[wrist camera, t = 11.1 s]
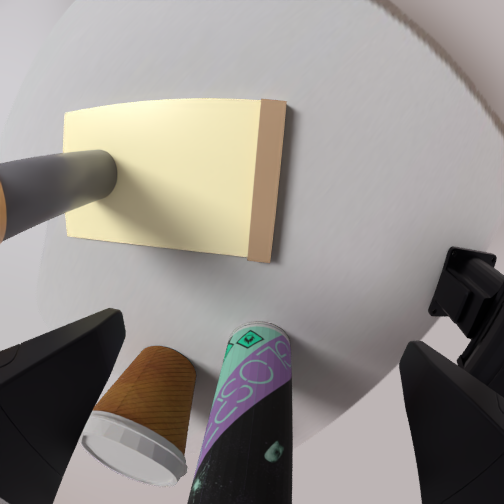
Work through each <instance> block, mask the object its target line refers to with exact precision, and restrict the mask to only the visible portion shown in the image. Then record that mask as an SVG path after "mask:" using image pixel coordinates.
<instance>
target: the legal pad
mask: <svg viewBox="0 0 504 504" xmlns="http://www.w3.org/2000/svg"><path fill="white" fill-rule="evenodd" d="M286 102H287V101H279V100H269V99H261V100H247V99H218V98H195V99H167V100H152V101H140V102H130V103H122V104H114V105H107V106H100V107H94V108H88V109H82V110H77V111H72V112H67V113H65V118H64V135H63V153H68V152H77V151H87V150H104V151H106V152H108V153H109V154H110V155H111V156H112V157H113V159H114V161H115V163H116V166H117V182H116V185H115V187H114V189H113V191H112V192H111V193H110V194H109V195H108V196H107V197H105V198H103V199H100V200H97V201H94V202H92V203H89V204H86V205H84V206H81V207H79V208H76V209H74V210H71V211H69V212H66V213H65V217H66V227H67V236H69V237H77V238H86V239H94V240H102V241H111V242H119V243H128V244H136V245H145V246H153V247H162V248H171V249H179V250H188V251H197V252H206V253H214V254H223V255H232V256H241V257H247V260H248V261H257V262H266V263H270V259H271V250H272V242H273V233H274V224H275V215H276V205H277V196H278V186H279V176H280V166H281V156H282V146H283V135H284V125H285V113H286Z"/></svg>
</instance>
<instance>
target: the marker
mask: <svg viewBox="0 0 504 504" xmlns="http://www.w3.org/2000/svg"><path fill="white" fill-rule="evenodd" d="M116 182H117V166H116V163H115V161H114V159H113V157H112V156H111V155H110V154H109V153H108V152H106V151H104V150H87V151H77V152H68V153H60V154H52V155H45V156H39V157H32V158H27V159H21V160H16V161H10V162H5V163H1V164H0V243H1V242H2V241H4V240H6V239H8V238H10V237H13V236H15V235H17V234H18V233H21V232H23V231H25V230H27V229H29V228H32V227H34V226H36V225H38V224H40V223H42V222H45V221H47V220H50V219H52V218H54V217H57V216H59V215H61V214H64V213H66V212H69V211H71V210H74V209H76V208H79V207H81V206H84V205H86V204H89V203H92V202H94V201H97V200H100V199H103V198H105V197H107V196H108V195H109V194H110V193H111V192H112V191H113V189H114V187H115V185H116Z"/></svg>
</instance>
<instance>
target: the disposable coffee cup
mask: <svg viewBox="0 0 504 504" xmlns="http://www.w3.org/2000/svg"><path fill="white" fill-rule="evenodd" d="M195 380H196V371H195V369H194V367H193V365H192V364H191V363H190V361H189V360H188V359H187V358H185V357H184V356H183V355H181V354H180V353H178V352H176V351H175V350H172V349H170V348H167V347H162V346H150V347H147V348H145V349H144V350H143V351H142V352H141V353H140V354H139V355H138V356H137V357H136V359H135V360H134V361H133V362H132V363H131V364H130V366H129V367H128V368H127V369H126V370H125V371H124V373H123V374H122V375H121V376H120V377H119V378H118V380H117V381H116V382H115V383H114V385H112V387H111V388H110V389H109V390H108V392H107V393H106V394H105V395H104V396H103V397H102V398H101V400H100V401H99V402H98V403H97V404H96V406H95V407H94V409H93V411H92V413H91V415H90V417H89V419H88V421H87V423H86V425H85V427H84V430H83V432H82V434H81V436H80V438H79V441H78V442H79V444H80V445H81V447H82V448H83V449H84V450H85V451H86V452H87V453H88V454H89V455H91V456H92V457H93V458H94V459H95V460H97V461H98V462H99V463H101V464H103V465H104V466H106V467H107V468H109V469H111V470H112V471H114V472H116V473H118V474H120V475H122V476H125V477H127V478H129V479H132V480H134V481H137V482H140V483H144V484H148V485H152V486H158V487H169V486H174V485H176V484H177V482H178V481H179V479H180V477H182V476H184V475H185V474H186V473H187V465H186V460H185V457H184V454H185V448H186V440H187V432H188V426H189V419H190V412H191V405H192V399H193V392H194V386H195Z"/></svg>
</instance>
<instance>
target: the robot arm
mask: <svg viewBox="0 0 504 504" xmlns="http://www.w3.org/2000/svg"><path fill="white" fill-rule="evenodd" d="M453 252H454V254H453V255H452V253H453ZM495 263H496V256H495V255H494V254H491V253H487V252H481V251H476V250H470V249H465V248H459V247H451V248H450V249H449V250H448V253H447V257H446V260H445V263H444V267H443V270H442V273H441V276H440V279H439V282H438V285H437V288H436V291H435V294H434V296H433V299H432V302H431V304H430V307H429V310H428V312H429V314H430V315H431V316H449V317H450V318H451V320H452V321H453V322H454V323H456V324H457V326H458V327H459V328H460V329H461V331H462V332H463V333H464V335H465V336H466V337H467V338H470V339H471V341H470V343H469V344H468V346H467V348H466V349H465V351H464V352H463V354H462V355H460V356H459V358H458V359H457V363H458V366H457V365H456V364H455V363H453V362H452V361H450V360H449V359H447V358H446V357H444V356H443V355H441V354H440V353H438V352H437V351H436V350H434V349H433V348H431V347H430V346H428V345H427V344H425V343H424V342H422V341H411V342H409V343H408V345H407V347H406V349H405V351H404V353H403V356H402V358H401V360H400V363H399V369H400V375H401V381H402V388H403V395H404V402H405V408H406V412H407V417H408V421H409V426H410V430H411V436H412V441H413V446H414V451H415V457H416V463H417V468H418V476H419V482H420V490H421V498H422V504H504V275H503V274H501V273H500V272H499V271H497V270H496V269H495V268H494V266H495ZM434 309H435V310H434ZM433 310H434V311H433ZM125 336H126V330H125V325H124V320H123V315H122V312H121V311H120V310H117V309H113V308H108V309H105V310H103V311H100V312H98V313H95V314H93V315H90V316H88V317H85V318H83V319H80V320H78V321H75V322H73V323H70V324H68V325H65V326H63V327H60V328H58V329H55V330H53V331H50V332H48V333H45V334H43V335H40V336H38V337H35V338H33V339H30V340H28V341H25V342H23V343H21V344H18V345H15V346H13V347H10V348H8V349H5V350H2V351H0V504H53V501H54V499H55V496H56V493H57V491H58V488H59V486H60V483H61V481H62V477H63V475H64V473H65V471H66V468H67V465H68V463H69V461H70V458H71V456H72V454H73V452H74V450H75V447H76V445H77V442H78V441H79V438H80V436H81V434H82V432H83V430H84V427H85V425H86V423H87V421H88V419H89V417H90V415H91V413H92V411H93V409H94V407H95V405H96V403H97V401H98V399H99V396H100V394H101V393H102V391H103V389H104V386H105V385H106V383H107V381H108V379H109V377H110V374H111V372H112V370H113V367H114V365H115V362H116V359H117V357H118V354H119V352H120V349H121V347H122V344H123V342H124V339H125Z"/></svg>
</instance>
